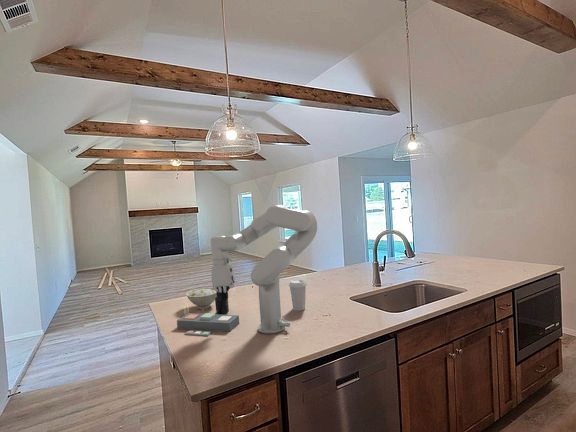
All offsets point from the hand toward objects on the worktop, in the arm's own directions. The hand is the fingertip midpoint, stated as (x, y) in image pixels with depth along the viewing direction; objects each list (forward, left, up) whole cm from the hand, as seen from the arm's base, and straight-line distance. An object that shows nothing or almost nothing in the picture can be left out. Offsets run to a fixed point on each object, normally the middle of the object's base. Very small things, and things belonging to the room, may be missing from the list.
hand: (224, 300), depth 152 cm
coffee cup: (-28, -29, -13) cm, 42 cm away
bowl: (+28, -26, -13) cm, 40 cm away
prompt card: (+10, +9, -13) cm, 19 cm away
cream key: (+1, 0, -12) cm, 12 cm away
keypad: (+10, 0, -13) cm, 16 cm away
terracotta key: (+19, 0, -12) cm, 22 cm away
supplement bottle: (+12, -18, -13) cm, 25 cm away
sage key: (+10, 0, -11) cm, 15 cm away
